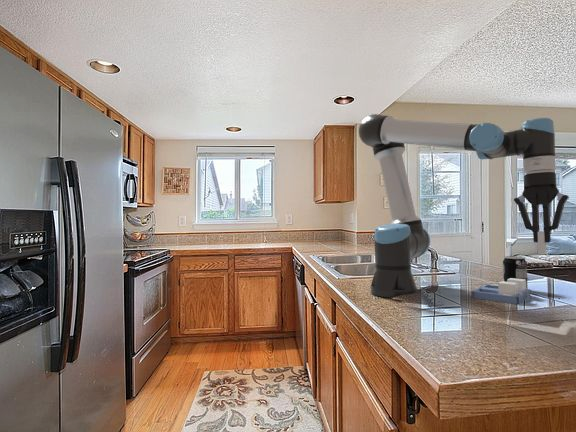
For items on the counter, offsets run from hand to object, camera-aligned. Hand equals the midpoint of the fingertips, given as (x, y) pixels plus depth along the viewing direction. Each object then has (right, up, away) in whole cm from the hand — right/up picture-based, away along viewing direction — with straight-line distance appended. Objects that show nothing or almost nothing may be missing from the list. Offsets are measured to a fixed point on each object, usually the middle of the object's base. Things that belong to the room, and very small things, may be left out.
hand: (542, 253), depth 98 cm
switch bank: (-9, -15, +4) cm, 18 cm away
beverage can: (+1, -15, +13) cm, 20 cm away
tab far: (-4, -13, +5) cm, 15 cm away
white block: (-10, -13, 0) cm, 17 cm away
